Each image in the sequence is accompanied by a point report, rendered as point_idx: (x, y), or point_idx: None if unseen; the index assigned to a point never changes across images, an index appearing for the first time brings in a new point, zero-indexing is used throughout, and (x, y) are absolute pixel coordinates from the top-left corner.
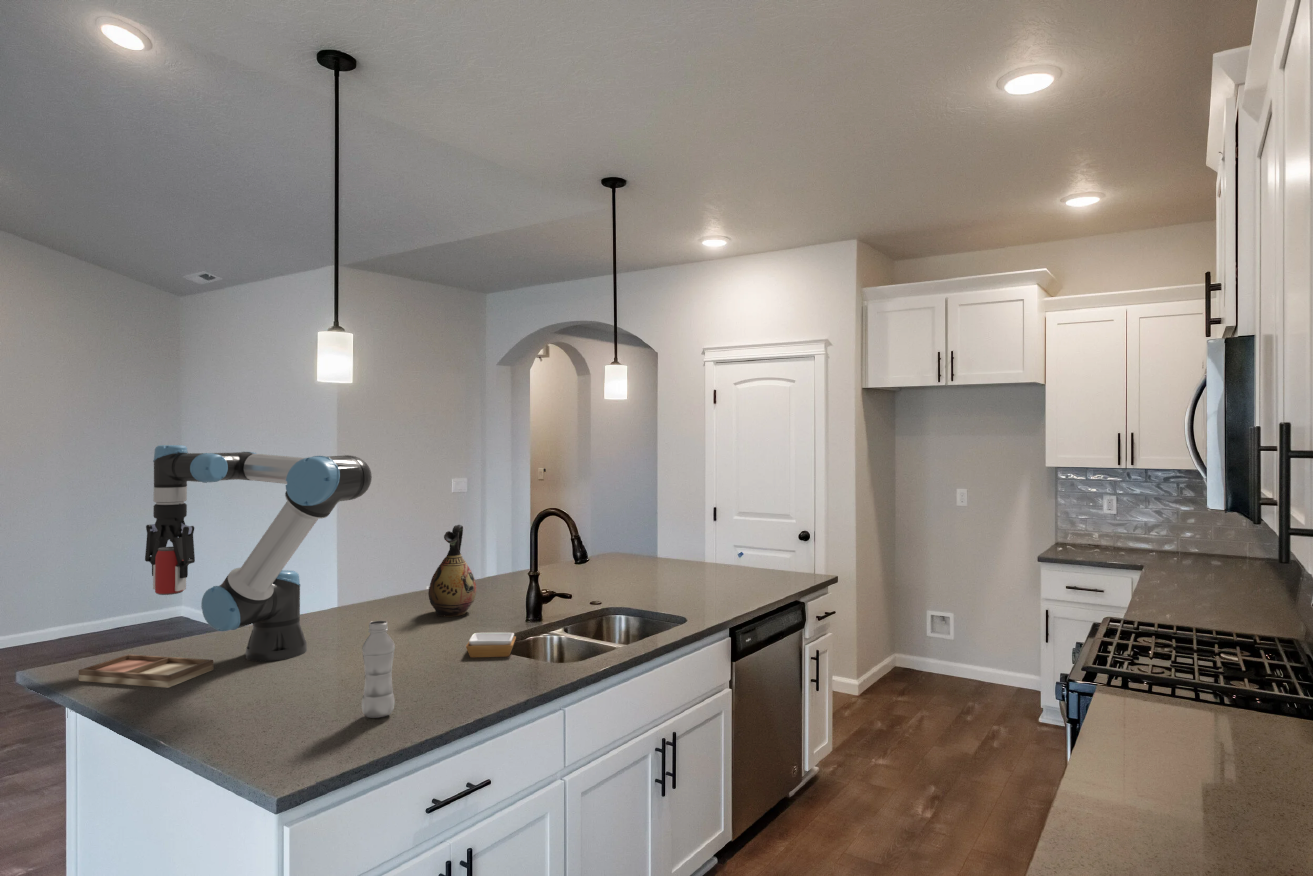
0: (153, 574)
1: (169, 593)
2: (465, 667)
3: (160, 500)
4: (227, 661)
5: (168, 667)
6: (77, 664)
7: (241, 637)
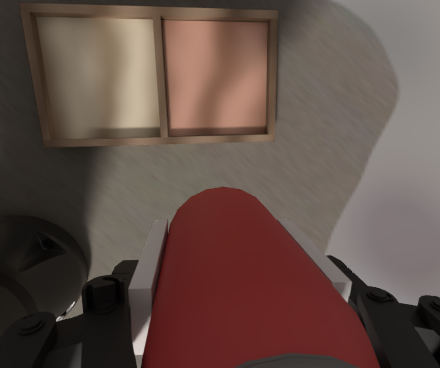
0: (318, 250)
1: (184, 203)
2: None
3: None
4: (86, 205)
5: (129, 104)
6: (366, 118)
7: None
